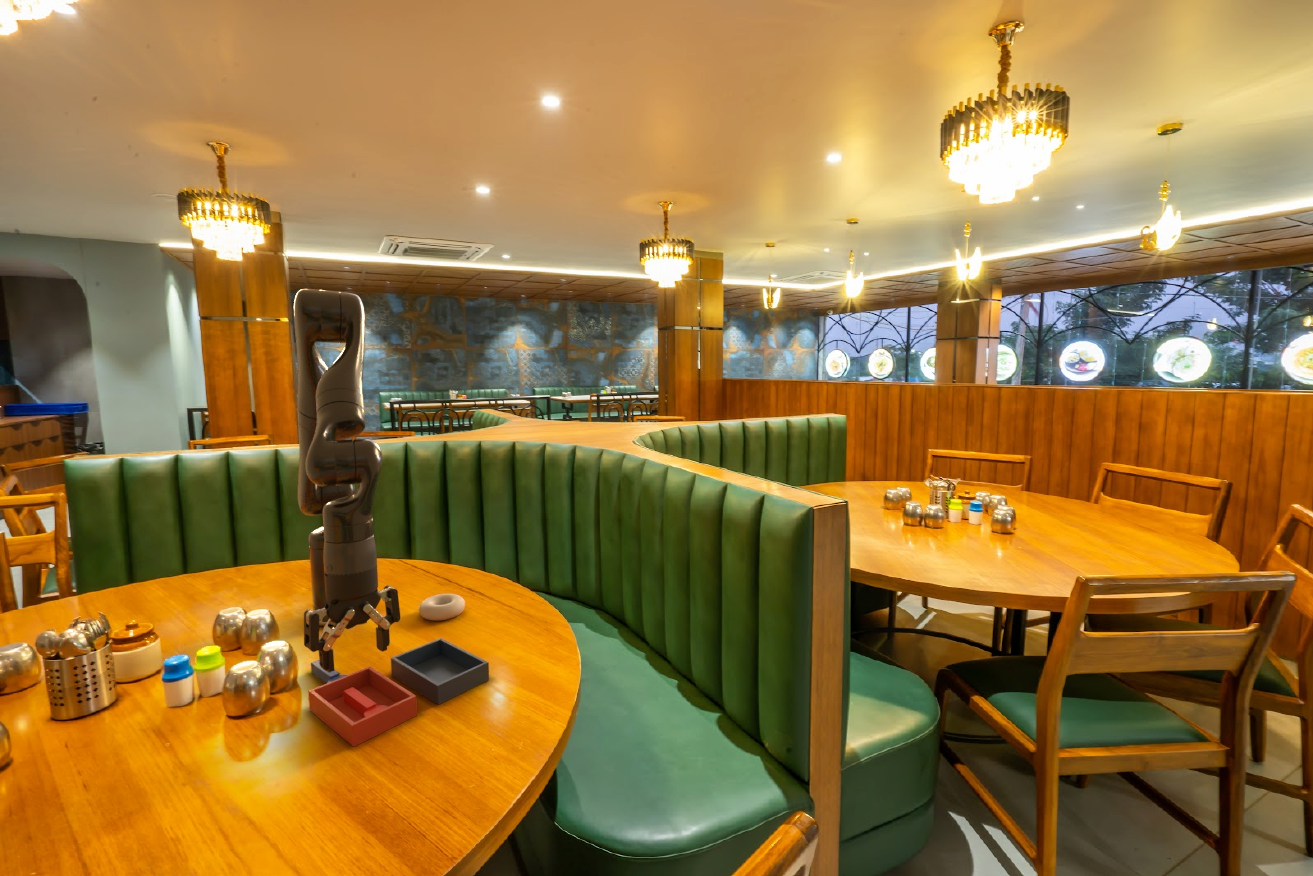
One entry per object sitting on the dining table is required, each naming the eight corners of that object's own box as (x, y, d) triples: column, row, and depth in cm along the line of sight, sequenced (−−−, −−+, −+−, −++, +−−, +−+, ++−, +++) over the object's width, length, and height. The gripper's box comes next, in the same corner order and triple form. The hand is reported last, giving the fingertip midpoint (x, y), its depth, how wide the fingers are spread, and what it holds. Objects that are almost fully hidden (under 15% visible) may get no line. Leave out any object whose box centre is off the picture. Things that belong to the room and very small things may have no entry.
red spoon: (337, 704, 98) (336, 693, 98) (359, 695, 101) (358, 684, 101) (371, 730, 92) (370, 718, 91) (393, 719, 94) (393, 708, 94)
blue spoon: (305, 675, 108) (304, 664, 108) (326, 667, 111) (325, 657, 111) (333, 696, 102) (332, 685, 101) (354, 687, 104) (354, 676, 104)
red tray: (309, 710, 98) (308, 690, 97) (370, 684, 106) (369, 666, 105) (353, 747, 88) (352, 725, 88) (417, 715, 96) (416, 696, 96)
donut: (409, 621, 131) (450, 625, 129) (408, 606, 131) (450, 609, 129) (435, 604, 141) (473, 606, 139) (434, 590, 141) (473, 592, 139)
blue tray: (391, 675, 109) (390, 658, 108) (441, 654, 117) (441, 638, 116) (438, 705, 99) (437, 686, 99) (489, 680, 107) (488, 662, 107)
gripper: (382, 548, 102) (387, 637, 104) (292, 570, 91) (299, 669, 93) (405, 557, 98) (409, 650, 100) (313, 582, 87) (320, 686, 89)
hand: (356, 659), depth 97 cm, fingers open, 8 cm apart
